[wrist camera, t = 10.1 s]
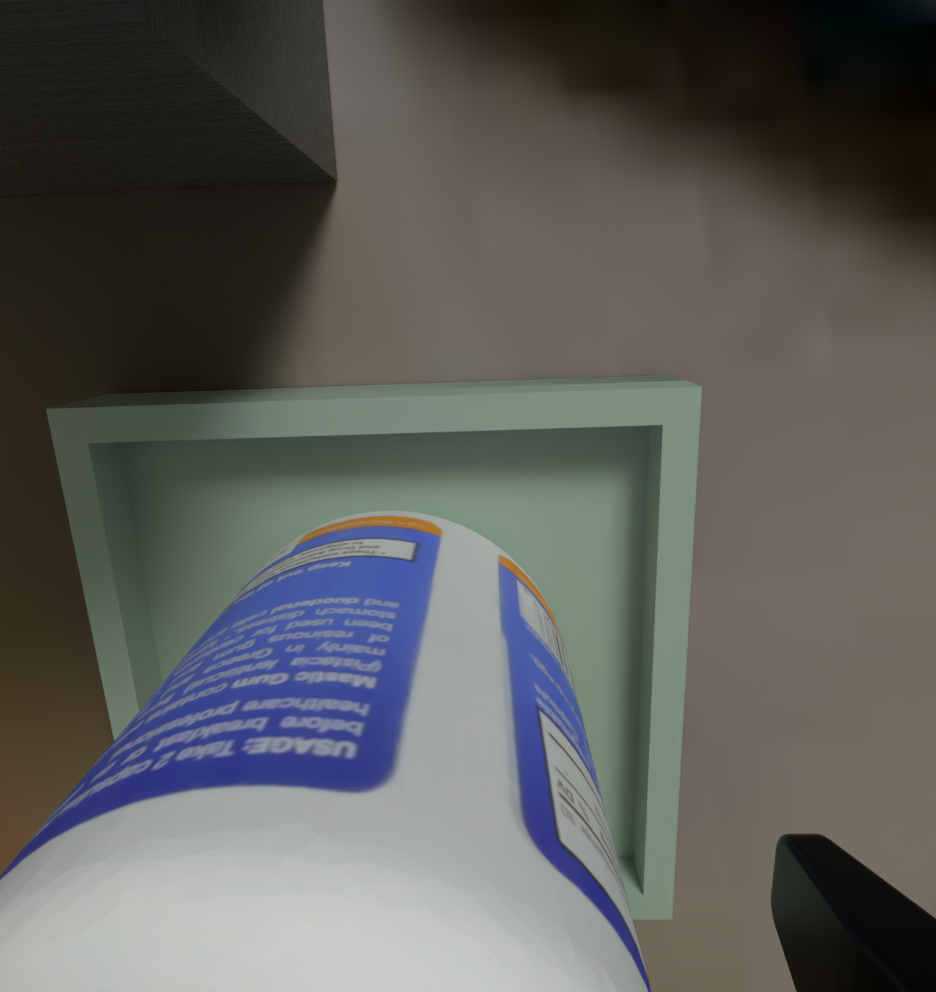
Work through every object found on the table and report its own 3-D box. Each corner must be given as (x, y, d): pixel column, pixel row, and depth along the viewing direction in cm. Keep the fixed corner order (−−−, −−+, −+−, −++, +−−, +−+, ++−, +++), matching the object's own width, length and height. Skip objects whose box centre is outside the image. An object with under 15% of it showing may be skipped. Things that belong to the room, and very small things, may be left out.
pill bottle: (194, 723, 12) (-1005, 2442, 2) (307, 443, 10) (-1583, 1913, 1) (480, 838, 12) (460, 2638, 3) (625, 586, 11) (1566, 2497, 1)
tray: (670, 374, 11) (702, 386, 9) (650, 846, 13) (672, 919, 12) (108, 394, 11) (45, 408, 9) (190, 851, 13) (151, 922, 12)
